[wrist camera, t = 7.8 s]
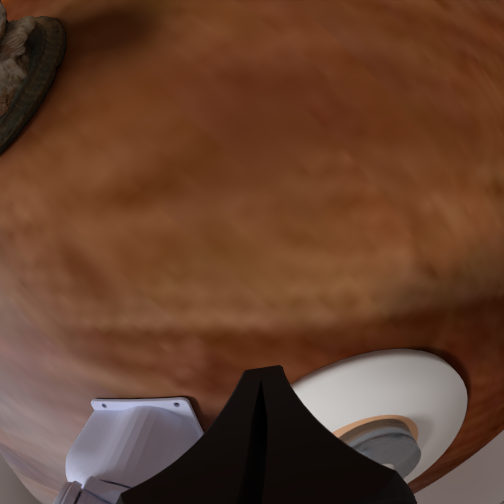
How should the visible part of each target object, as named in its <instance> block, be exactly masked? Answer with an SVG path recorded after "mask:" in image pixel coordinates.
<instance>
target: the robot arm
mask: <svg viewBox="0 0 504 504" xmlns="http://www.w3.org/2000/svg"><path fill="white" fill-rule="evenodd" d="M176 403H179V404H176ZM91 405H92V407H93V408H94V412H93V413H92V415H91V416H90V418H89V419H88V421H87V423H86V424H85V426H84V427H83V429H82V430H81V432H80V434H79V435H78V437H77V438H76V440H75V442H74V443H73V445H72V446H71V448H70V450H69V452H68V455H67V458H66V476H67V479H68V482H65V483H64V485H63V486H62V488H61V490H60V491H59V493H58V495H57V497H56V499H55V500H54V502H53V504H417V501H416V499H415V496H414V494H413V492H412V491H411V489H410V488H409V486H408V485H407V483H406V482H405V481H404V479H403V478H402V477H401V476H400V474H399V473H398V472H397V471H396V470H393V469H391V468H389V467H386V466H384V465H382V464H380V463H378V462H376V461H374V460H372V459H370V458H368V457H366V456H365V455H363V454H361V453H359V452H358V451H356V450H355V449H353V448H352V447H350V446H349V445H347V444H346V443H345V442H343V441H342V440H340V439H339V438H338V437H336V436H335V435H334V434H333V433H332V432H330V431H329V430H328V429H327V428H326V427H325V426H324V425H323V424H321V423H320V422H319V421H318V420H317V419H316V418H315V417H314V415H313V414H312V413H311V412H310V411H309V410H308V409H307V407H306V406H305V405H304V404H303V403H302V401H301V400H300V399H299V397H298V396H297V394H296V393H295V391H294V390H293V388H292V387H291V385H290V383H289V382H288V380H287V378H286V376H285V373H284V370H283V367H282V366H280V365H276V366H270V367H264V368H257V369H250V370H245V371H244V372H243V374H242V376H241V378H240V380H239V382H238V384H237V386H236V388H235V390H234V391H233V393H232V395H231V397H230V398H229V400H228V402H227V403H226V405H225V406H224V408H223V409H222V411H221V412H220V414H219V415H218V416H217V418H216V419H215V421H214V422H213V423H212V425H211V426H210V427H209V428H208V429H207V431H206V432H205V433H204V432H203V430H202V428H201V426H200V424H199V422H198V419H197V417H196V415H195V413H194V411H193V408H192V406H191V404H190V401H189V400H188V399H187V398H184V397H177V398H159V399H93V400H92V401H91ZM500 504H504V501H503V502H502V503H500Z"/></svg>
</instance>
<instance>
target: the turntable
mask: <svg viewBox="0 0 504 504" xmlns="http://www.w3.org/2000/svg"><path fill="white" fill-rule="evenodd" d="M290 385H291V387H292V388H293V390H294V391H295V393H296V394H297V396H298V397H299V399H300V400H301V401H302V403H303V404H304V405H305V406H306V407H307V409H308V410H309V411H310V412H311V413H312V414H313V415H314V417H315V418H316V419H317V420H318V421H319V422H320V423H321V424H323V425H324V426H325V427H326V428H327V429H328V430H329V431H330V432H332V433H333V434H334V435H335V436H336V437H338V438H339V437H340V436H341V435H343V434H344V433H346V432H348V431H349V430H351V429H353V428H355V427H357V426H360V425H362V424H365V423H368V422H371V421H375V420H380V419H397V420H400V421H403V422H404V423H405V424H406V425H407V426H408V428H409V429H410V431H411V433H412V435H413V437H414V439H415V441H416V442H417V444H418V446H419V448H420V450H421V458H420V461H419V463H418V464H417V466H416V467H415V469H414V470H413V471H412V472H411V473H410V474H409V475H408V476H406V477H405V478H404V481H405V482H406V483H409V482H410V481H412V480H413V479H415V478H416V477H418V476H419V475H420V474H422V473H423V472H424V471H426V470H427V469H428V468H429V467H430V466H431V465H432V464H433V463H435V462H436V461H437V459H438V458H439V457H440V456H441V455H442V454H443V453H444V452H445V451H446V449H447V448H448V447H449V446H450V444H451V443H452V441H453V440H454V438H455V437H456V435H457V433H458V431H459V429H460V428H461V425H462V423H463V420H464V417H465V413H466V409H467V391H466V387H465V385H464V382H463V380H462V379H461V377H460V376H459V374H458V373H457V372H456V371H455V370H454V369H453V368H452V367H451V366H450V365H449V364H448V363H447V362H446V361H445V360H443V359H442V358H440V357H438V356H436V355H434V354H432V353H428V352H425V351H422V350H414V349H387V350H378V351H373V352H368V353H364V354H359V355H355V356H352V357H349V358H346V359H343V360H339V361H337V362H334V363H332V364H329V365H327V366H324V367H322V368H319V369H318V370H316V371H314V372H312V373H310V374H308V375H305V376H303V377H302V378H300V379H298V380H297V381H295V382H293V383H292V384H290Z"/></svg>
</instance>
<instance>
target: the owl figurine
mask: <svg viewBox="0 0 504 504" xmlns="http://www.w3.org/2000/svg"><path fill="white" fill-rule="evenodd" d="M65 35H66V34H65V31H64V27H63V26H62V25H61V23H60V22H59V21H58V20H55V19H53V18H50V17H45V16H40V17H36V18H35V17H33V16H27V17H24V18H21V19H19V20H16V21H15V20H13V21H10V22H8V20H7V14H6V10H5V8H4V6H3V5H2V3H1V0H0V153H2V151H3V150H4V149H5V148H6V147H7V146H8V145H9V144H10V143H11V142H12V141H13V140H14V139H15V138H16V137H17V136H18V134H19V133H20V131H21V130H22V129H23V127H24V126H25V125H26V124H27V123H28V121H29V120H30V118H31V117H32V116H33V115H34V113H35V111H36V110H37V108H38V107H39V106H40V104H41V102H42V101H43V99H44V98H45V96H46V94H47V92H48V90H49V88H50V86H51V85H52V83H53V80H54V78H55V74H56V70H55V69H56V67H57V65H60V64H61V63H62V60H63V57H64V53H65V47H66V46H65V45H66V44H65V43H66V41H65V40H66V38H65Z"/></svg>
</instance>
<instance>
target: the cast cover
mask: <svg viewBox="0 0 504 504" xmlns="http://www.w3.org/2000/svg"><path fill="white" fill-rule="evenodd" d="M339 439H340V440H342V441H343V442H345V443H346V444H347V445H349V446H350V447H352V448H353V449H355V450H356V451H358V452H359V453H361V454H363V455H365V456H366V457H368V458H370V459H372V460H374V461H376V462H378V463H380V464H382V465H384V466H386V467H389V468H391V469H393V470H396V471H397V472H398V473H399V474H400V476H401V477H402V478H403V479H404V478H405V477H406V476H408V475H409V474H410V473H411V472H412V471H413V470H414V469H415V467H416V466H417V464H418V463H419V461H420V458H421V450H420V448H419V446H418V444H417V442H416V441H415V439H414V437H413V435H412V433H411V431H410V429H409V428H408V426H407V425H406V424H405V423H404V422H403V421H400V420H397V419H380V420H375V421H371V422H368V423H365V424H362V425H360V426H357V427H355V428H353V429H351V430H349V431H348V432H346V433H344V434H343V435H341V436H340V437H339Z"/></svg>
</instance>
